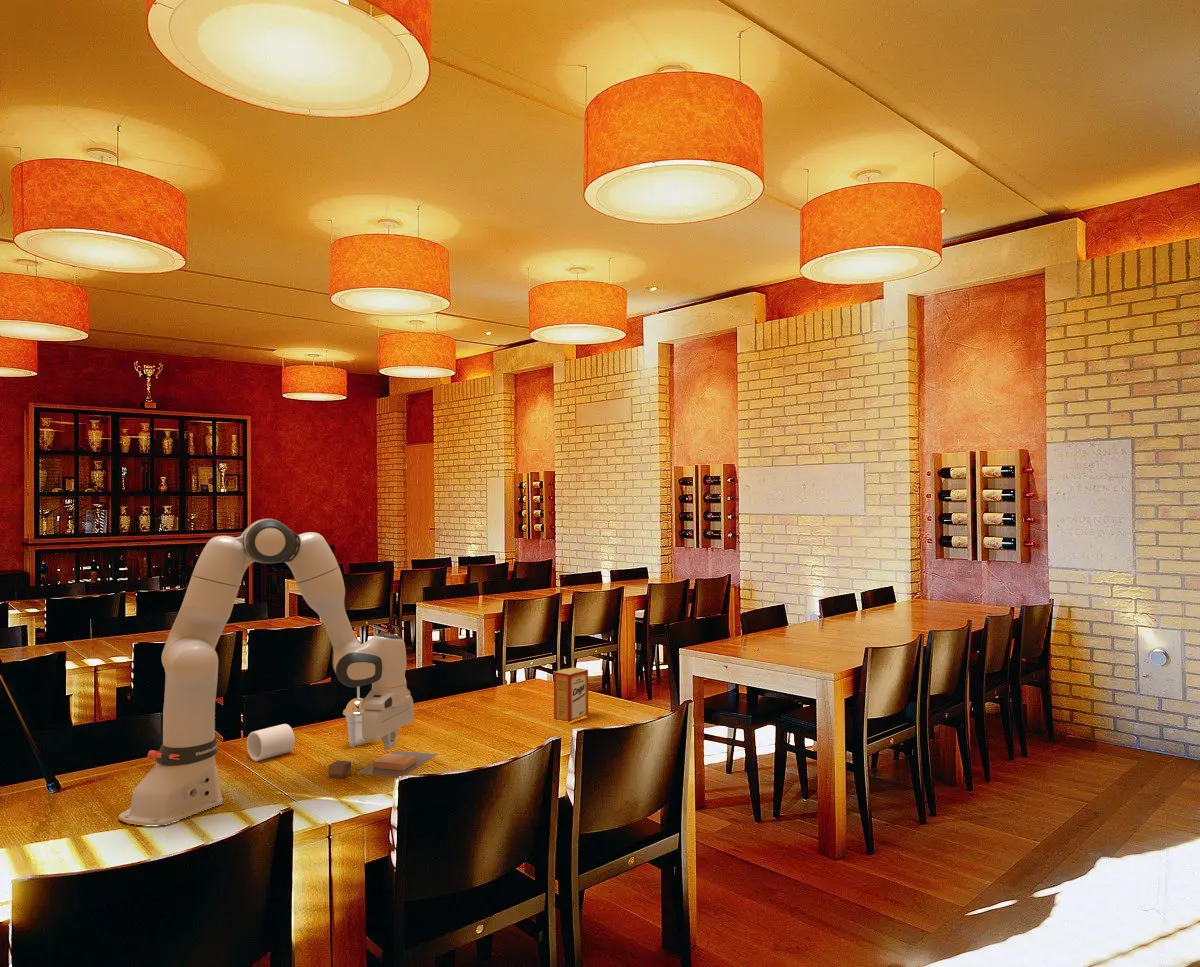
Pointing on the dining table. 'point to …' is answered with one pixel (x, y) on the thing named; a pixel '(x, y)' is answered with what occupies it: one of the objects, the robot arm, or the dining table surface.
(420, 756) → the slate board
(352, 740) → the cup with straw
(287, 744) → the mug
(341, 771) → the walnut cube
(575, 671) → the baking soda box
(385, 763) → the tile
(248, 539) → the robot arm
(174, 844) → the dining table surface
